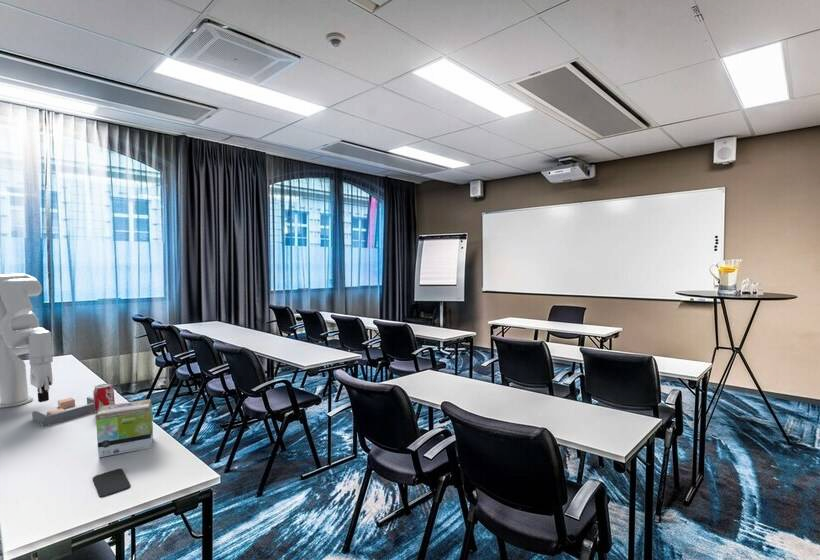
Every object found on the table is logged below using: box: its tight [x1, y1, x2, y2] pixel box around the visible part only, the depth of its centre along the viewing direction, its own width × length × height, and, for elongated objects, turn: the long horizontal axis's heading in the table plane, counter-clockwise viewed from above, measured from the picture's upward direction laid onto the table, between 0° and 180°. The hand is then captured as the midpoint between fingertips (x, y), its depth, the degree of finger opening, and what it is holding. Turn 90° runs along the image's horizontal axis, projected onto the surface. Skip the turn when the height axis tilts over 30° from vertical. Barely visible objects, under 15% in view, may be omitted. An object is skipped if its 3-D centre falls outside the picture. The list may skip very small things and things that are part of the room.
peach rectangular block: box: [57, 397, 76, 409], centre depth 190 cm, size 5×5×3 cm
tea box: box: [95, 398, 154, 459], centre depth 146 cm, size 15×10×15 cm, turn 117°
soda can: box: [92, 383, 116, 416], centre depth 179 cm, size 7×7×12 cm
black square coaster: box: [92, 468, 131, 498], centre depth 123 cm, size 7×1×15 cm
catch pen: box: [31, 396, 95, 427], centre depth 180 cm, size 13×20×4 cm, turn 148°
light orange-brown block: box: [46, 408, 67, 416], centre depth 177 cm, size 5×5×3 cm
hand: (43, 400), depth 183 cm, fingers closed
